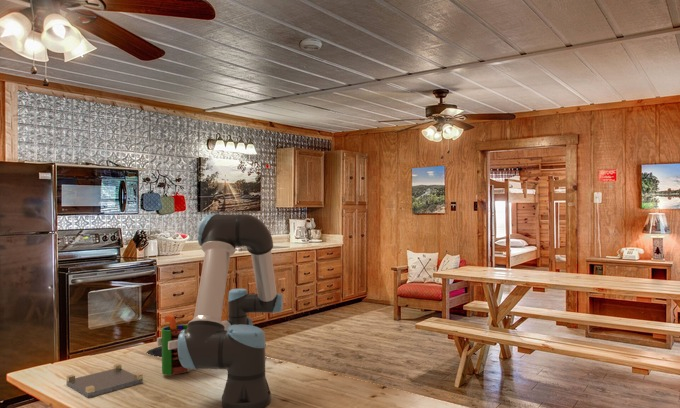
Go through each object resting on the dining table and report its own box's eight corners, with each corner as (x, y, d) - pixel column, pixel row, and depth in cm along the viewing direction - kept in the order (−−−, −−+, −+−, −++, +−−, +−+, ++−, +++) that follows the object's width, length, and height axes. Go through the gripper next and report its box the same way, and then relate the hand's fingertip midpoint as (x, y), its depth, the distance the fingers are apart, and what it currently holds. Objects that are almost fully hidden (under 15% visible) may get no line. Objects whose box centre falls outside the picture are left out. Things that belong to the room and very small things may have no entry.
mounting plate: (142, 382, 168) (142, 374, 168) (88, 398, 154) (88, 388, 154) (118, 371, 180) (119, 363, 180) (66, 384, 166) (66, 376, 166)
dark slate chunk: (205, 345, 216) (205, 335, 216) (171, 359, 196) (171, 348, 196) (177, 342, 222) (177, 332, 222) (142, 355, 201) (142, 344, 201)
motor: (179, 375, 170) (177, 318, 171) (156, 375, 172) (154, 318, 173) (193, 366, 180) (191, 313, 181) (171, 366, 182) (170, 313, 183)
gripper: (232, 346, 183) (177, 359, 166) (203, 337, 196) (149, 349, 179) (232, 326, 184) (177, 337, 166) (203, 318, 197) (149, 329, 179)
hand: (163, 343), depth 173 cm, fingers closed on motor, 7 cm apart
